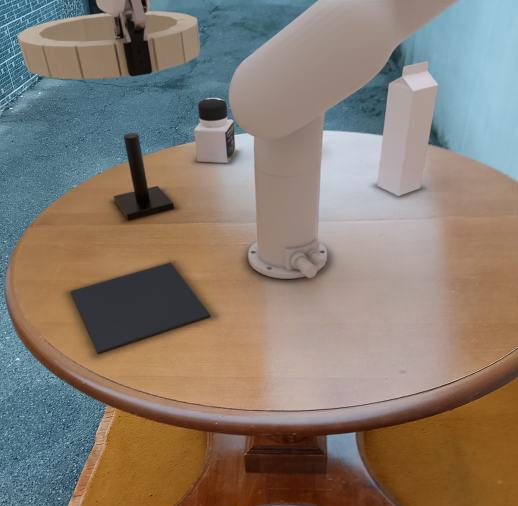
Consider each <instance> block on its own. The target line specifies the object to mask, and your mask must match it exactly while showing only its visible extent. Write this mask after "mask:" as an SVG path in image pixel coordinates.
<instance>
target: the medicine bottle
mask: <svg viewBox="0 0 518 506" xmlns="http://www.w3.org/2000/svg"><path fill="white" fill-rule="evenodd" d="M227 107H228V106H227V102H226V101H225V99H221V98H219V97H208V98H205V99H202V100H201V101H199V102H198V104H197V110H198V119H199V123H198V124H197V126H195V128H194V129H193V135H194V144H195V153H196V160H197V162H199V163H216V164H217V163H219V164H228V163H229V162H230V161H231V159H232V157H233V156H234V154H235V152H236V140H235V123H234V119H228V108H227Z"/></svg>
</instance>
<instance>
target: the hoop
mask: <svg viewBox="0 0 518 506" xmlns="http://www.w3.org/2000/svg"><path fill="white" fill-rule="evenodd" d="M145 17H146V24H145V27H146V33H147V40H148V46H149V53H150V59H151V65H152V73H156V72H160V71H163V70H167V69H171V68H174V67H177V66H180V65H181V66H182V65H184V64H186V63H189V62H190V61H192V60H193V59H195V58H197V57H198V56H200V54H201V42H200V32H199V23H198V18H197V17H195V16H193V15H190V14H188V13H183V12H182V13H181V12H172V11H162V10H161V11H160V10H159V11H158V10H148V12H147V13H145ZM16 37H17V41H18V45H19V49H20V52H21V55H22V59H23V61H24V65H25V67H26V68H27V70H28V72H29V73H31V74H33V75H37V76H42V77H46V78H49V79H58V80H59V79H61V80H81V81H82V80H96V79H97V80H99V79H113V78H115V79H116V78H120V77H123V78H124V77H125V78H126V77H131V76H130V75H129V73H128V68H127V63H126V57H125V52H124V46H123V43H126V42H125V38H122V39H115V38H120V37H116V36H115V32H114V27H113V21H112V16H111V15H109V14H108V13H106V12H102V13H94V14H85V15H79V16H72V17H66V18H61V19H56V20H51V21H47V22H46V21H45V22H43V23H39V24H37V25H33V26H31V27H27V28H26V29H24V30H22V31H21V32H20V33H18V34H17V35H16Z"/></svg>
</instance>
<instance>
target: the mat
mask: <svg viewBox="0 0 518 506" xmlns="http://www.w3.org/2000/svg"><path fill="white" fill-rule="evenodd" d="M70 294H71V297H72V299H73V301H74V303H75V306H76V308H77V311H78V312H79V314H80V316H81V319H82V321H83V323H84V325H85V328H86V330H87V332H88V334H89V337H90V339H91V342H92V343H93V346H94V348H95V350H96V353H97V354H99V355H100V354H102V353H104V352H105V353H106V352H108V351H111V350H114V349H117V348H120V347H123V346H127V345H129V344H132V343H136V342H138V341H141V340H145V339H147V338H150V337H153V336H156V335H160V334H162V333H165V332H168V331H169V332H170V331H171V330H175V329H177V328H180V327H184V326H185V325H190V324H192V323H196V322H198V321H202V320H204V319H208V318H210V317H211V313H210V312H209V310H207V308H206V307H205V305H203V303H202V302H201V300H200V299H199V297H198V296H197V295H196V294H195V292H194V291H193V289H192V288H190V286H189V285H188V283H187V282H186V280H185V279H184V278H183V277H182V276H181V274H180V272H178V270H177V268H176V267H175V266H174V265H173V263H172V262H167V263H163V264H159V265H156V266H153V267H148V268H146V269H141V270H140V271H136V272H133V273H128V274H124V275H122V276H118V277H115V278H111V279H108V280H105V281H101V282H97V283H94V284H90V285H86V286H83V287H79V288H76V289H73V290H70Z"/></svg>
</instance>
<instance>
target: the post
mask: <svg viewBox="0 0 518 506" xmlns="http://www.w3.org/2000/svg"><path fill="white" fill-rule="evenodd" d="M123 140H124V146H125V151H126V156H127V161H128V166H129V171H130V176H131V182H132V187H133V191H129V192H124V193H121V194H116V195H113V201H114V203H115V204H116V206H117V207H118V208H119V210H120V211H121V213H122V214H123V216H124V217H125V218H126V219H127V221H130V220H135V219H139V218H143V217H146V216H151V215H154V214H159V213H162V212H166V211H171V210H175V206H174V205H175V204H174V201H172V200H171V199H170V197H168V195H167V194H166V193H165V192H164V191H163V190H162V189H161V187H159V186H158V185H155V186H151V187H149V186H148V182H147V181H148V180H147V176H146V175H147V174H146V170H145V163H144V157H143V152H142V147H141V142H140V137H139V133H136V132H129V133H126V134H124V135H123Z"/></svg>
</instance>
